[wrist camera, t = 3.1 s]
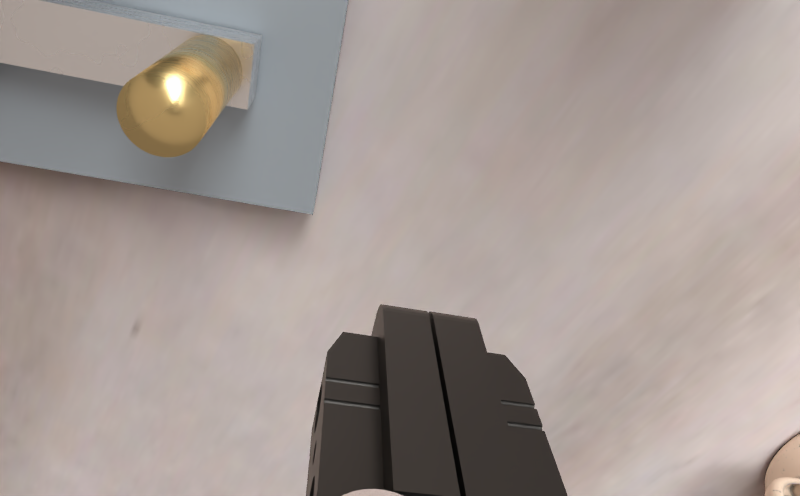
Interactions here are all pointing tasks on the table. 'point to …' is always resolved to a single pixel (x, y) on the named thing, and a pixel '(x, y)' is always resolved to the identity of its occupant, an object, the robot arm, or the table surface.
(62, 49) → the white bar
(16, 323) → the table surface
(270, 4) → the door and jamb lock plate
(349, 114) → the table surface
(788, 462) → the teacup with lid
